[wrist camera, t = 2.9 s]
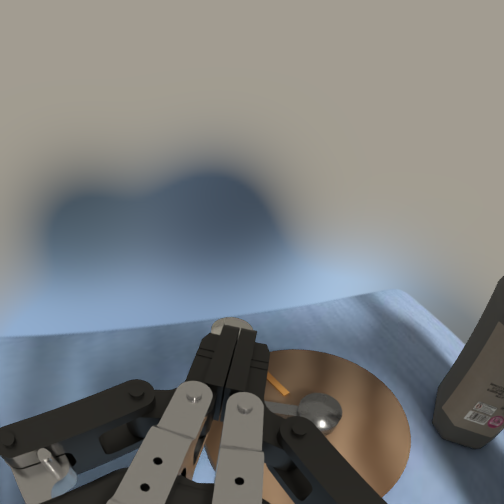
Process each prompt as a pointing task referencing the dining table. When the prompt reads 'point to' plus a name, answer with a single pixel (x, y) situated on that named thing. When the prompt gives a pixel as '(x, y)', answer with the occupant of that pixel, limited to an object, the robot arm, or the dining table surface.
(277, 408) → the silver bent piece
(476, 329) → the liquor
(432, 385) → the dining table surface
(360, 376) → the round wooden board
